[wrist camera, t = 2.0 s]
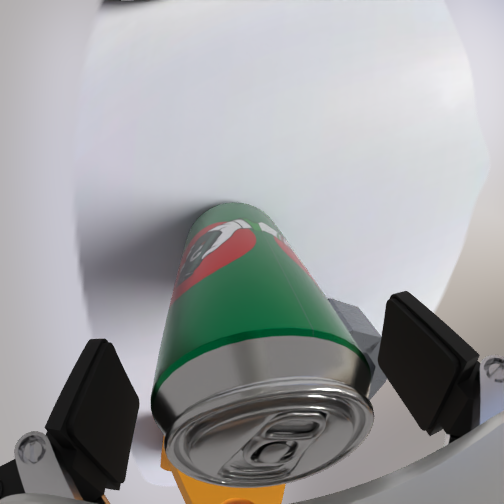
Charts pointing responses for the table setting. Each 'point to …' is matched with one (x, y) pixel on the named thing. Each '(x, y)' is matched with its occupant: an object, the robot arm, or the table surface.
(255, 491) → the bracket
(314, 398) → the soda can
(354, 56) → the table surface
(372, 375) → the rosette ring
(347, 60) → the table surface
